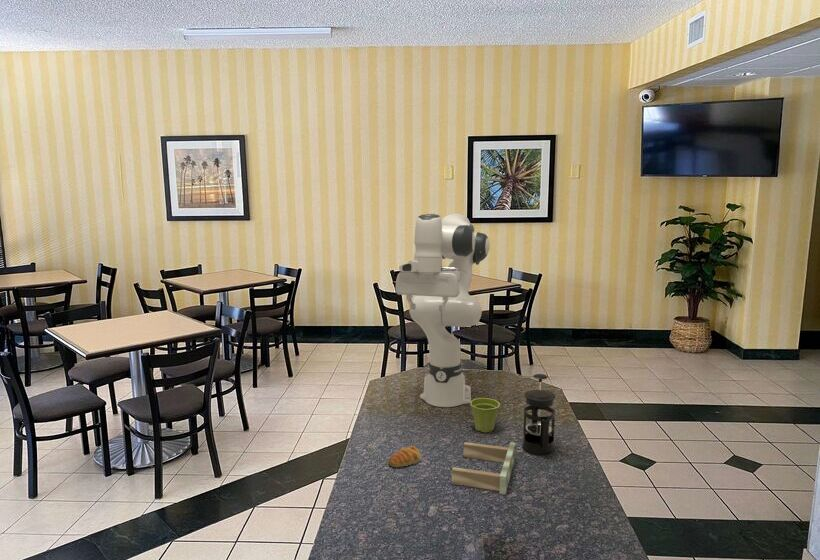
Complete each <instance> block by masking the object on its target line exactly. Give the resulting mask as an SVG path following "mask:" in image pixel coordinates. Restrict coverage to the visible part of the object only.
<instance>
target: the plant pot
mask: <svg viewBox="0 0 820 560" xmlns="http://www.w3.org/2000/svg"><path fill="white" fill-rule="evenodd" d="M469 405H470V406H471V409H472V414H473V423H474V429H475V430H476V431H479V432H481V433H491V432H492V431H493V430H494V429H495V426H496V425H495V424H496V419H497V414H498V413H497V412H498V410H499V407H500V405H501V403H500V402H499V401H497V400H496V399H493V398H491V397H490V398H489V397H477V398H474V399H471V402H470V403H469Z"/></svg>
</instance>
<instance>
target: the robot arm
mask: <svg viewBox="0 0 820 560" xmlns="http://www.w3.org/2000/svg"><path fill="white" fill-rule="evenodd" d="M414 227H415V228H414V240H413V241H414V242H413V243H414V246H415V248H414V250H415V252H414V254H413V255H414V256H413V260H411V261H408V262H405V263H402V264H400V265H398V270H399V273H398V274H397V276H396V281H395V292H396V294H397V295H398V296H400V295H401V296H406V301H407V302H408V304H409V308H408V309H409V315H410V317H411V319H412V320H413V322H415V323H416V324H417V325H418V326H419V327H420V328H421V329H422V331H423V332H424V334H425V336H426V338H427V342H428V350H429V361H428V366H427V368H428V370H427V371H428V373H427V374H426V375H425V376H424V382H423V383H424V384H423V385H424V386H423V392H422V393H421V394H419V398H420V399H422V400H424V401H425V402H426V404H428V405H431V406H432V407H433V406H434V407H438V408H439V407H440V408H452V407H453V408H454V407H458V406H461V405H468V404H470V402H471V401H472V394H471V393H472V390H471V389H472V388H471V385H467V384H466V375H465V374H464V373H463V365H462V364H463V363H462V361H463V360H462V358H461V342H460V340H459V339H458V338H457V337H456V336H455V335H453V334H451V333H450V332H449V331H448V330H447V329H446V327H458V328H465V327H472V326H475V325H477V324H478V323H479V321H480V320H481V317H482V314H483V313H482V312H483V311H482V306H481V303H480V302H479V300H478V299H477V298H475V297H473V296H472V295H470V294H469V291H470V287H471V284H472V280H473V265H474V264H475V265H476V266H477V265H479V264H480V263H481V262H483V261H484V260H485V259H486V257H488V254H489V253H490V246H491V245H490V239H489V237H488V235H487V234H486V233H483V232H479V231H478V232H475V227H474V225H473V224H472V223H471V222H470V220H469V218H468V217H467V216H466V215H464V214H463V213H459V212H458V213H457V212H456V213H450V214H448V215H446V216H444V217H441V215H439V214H435V213H425V214H421V215H419V216H417V217H416V221H415V226H414ZM445 259H447V260H452V261H451V262H450V263H449V264H448V265H447V266H443V260H445ZM413 296H414V297H413Z"/></svg>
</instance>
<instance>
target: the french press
mask: <svg viewBox="0 0 820 560" xmlns="http://www.w3.org/2000/svg"><path fill="white" fill-rule="evenodd" d="M532 377H533V378H534V379H537V380H538V382H539V389H531V390H527V391H526V392H524V395H523V396H524V398H525V403H526V404H527V405H528V406H525V407H524V409H523V430H522V431H523V434H522V437H523V438H522V450H523V451H524V452H525V453H527V454H529V455H532V456H538V457H539V456H541V457H542V456H544V457H545V456H549V455H551V454H553V453H554V451H555V446H554V445H555V420H556V419H555V417H556V411H555V409H554V408H552V406H554V403H555V399H556V395H555V393H554V392H551V391H549V390H544V389H542V387H541V386H542V382H543V380H546V379H548V378H549V376H548V375H547V374H544V373H535V374H533V376H532ZM541 410H542V411H546V412H548V413H549V412H550V413H551V414H550V415H547V416H546V415H545V416H541ZM528 411H531V414H530V413H527V412H528ZM527 419H528V420H531V422H530V423H527ZM550 421H551V425H550ZM536 443H537V444H536ZM538 443H539V444H538Z"/></svg>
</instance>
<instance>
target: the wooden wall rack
mask: <svg viewBox="0 0 820 560" xmlns="http://www.w3.org/2000/svg"><path fill="white" fill-rule="evenodd" d="M466 457H468V459H473V460H483V461H491V462H497V463H503V464H502V469H501V471H500V473H498V472H490V471H482V470H477V469H476V470H475V469H469V468H461V467H454V466H453V467H452V468H451V484H452V485H458V486H463V485H464V487H470V488H479V489H484V490H485V489H486V490H491V491H498V492H499V494H500V495H506V494H507V490H508V487H509V484H510V478H511V476H512V473H513V468H514V465H515V461H516V442H512V441H511V442H509V445H508V446H507V447H506V446H498V445H490V444H482V443H476V442H475V443H474V442H465V441H464V443H463V458H466Z"/></svg>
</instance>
